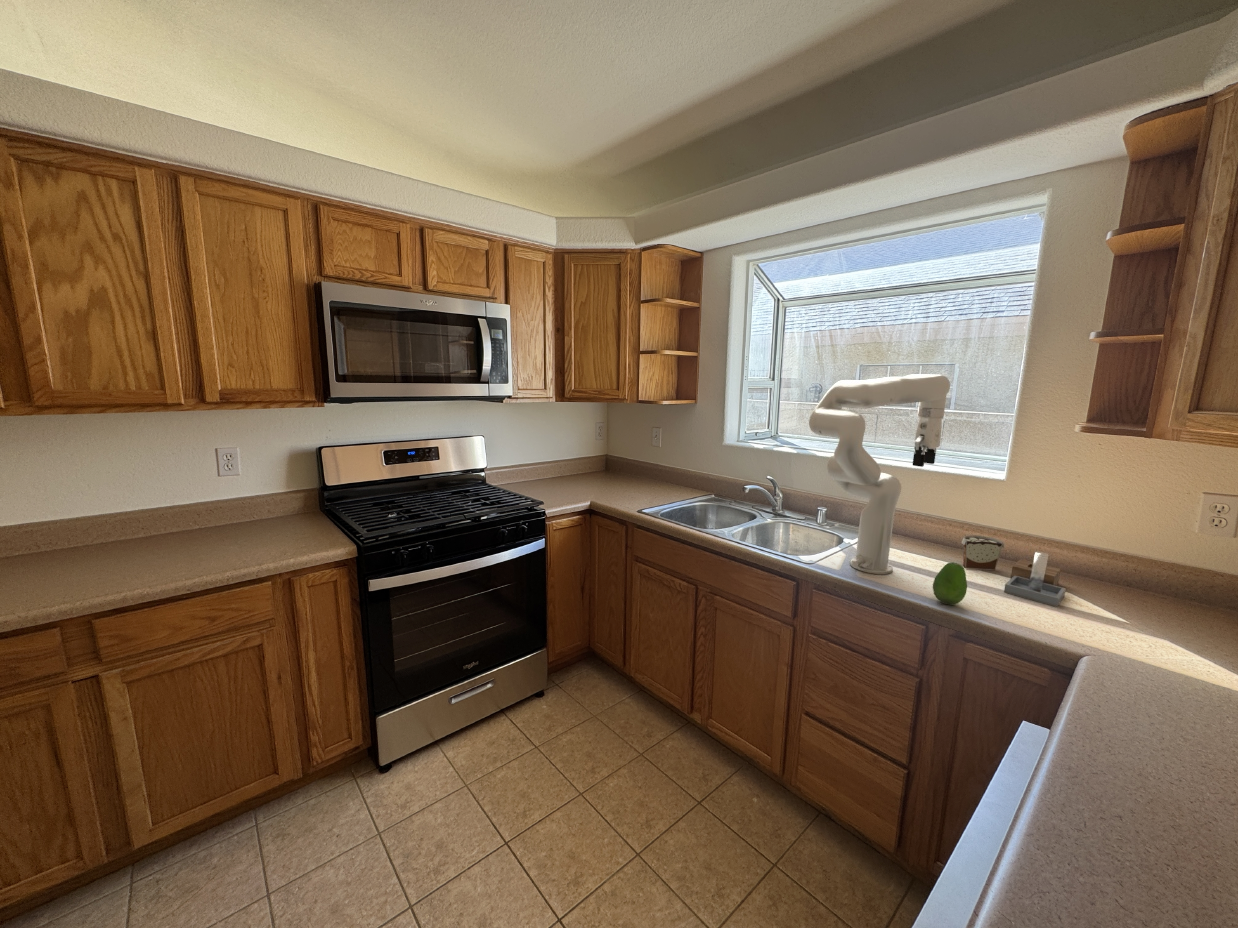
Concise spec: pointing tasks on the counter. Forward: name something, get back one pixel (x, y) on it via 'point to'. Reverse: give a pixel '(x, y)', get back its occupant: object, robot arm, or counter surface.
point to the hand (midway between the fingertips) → (923, 464)
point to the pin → (1038, 571)
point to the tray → (1047, 595)
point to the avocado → (950, 584)
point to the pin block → (1025, 567)
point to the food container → (981, 552)
